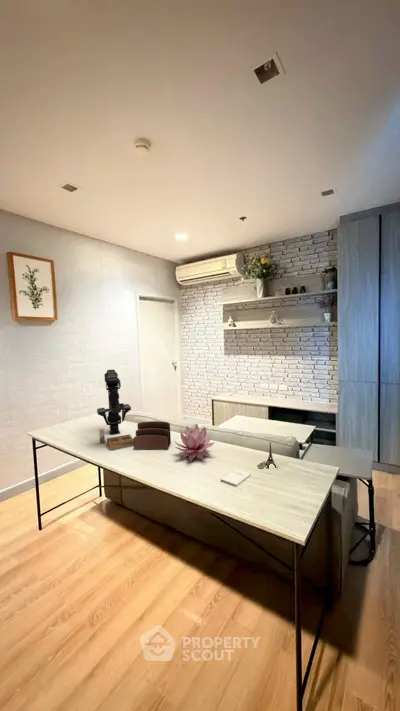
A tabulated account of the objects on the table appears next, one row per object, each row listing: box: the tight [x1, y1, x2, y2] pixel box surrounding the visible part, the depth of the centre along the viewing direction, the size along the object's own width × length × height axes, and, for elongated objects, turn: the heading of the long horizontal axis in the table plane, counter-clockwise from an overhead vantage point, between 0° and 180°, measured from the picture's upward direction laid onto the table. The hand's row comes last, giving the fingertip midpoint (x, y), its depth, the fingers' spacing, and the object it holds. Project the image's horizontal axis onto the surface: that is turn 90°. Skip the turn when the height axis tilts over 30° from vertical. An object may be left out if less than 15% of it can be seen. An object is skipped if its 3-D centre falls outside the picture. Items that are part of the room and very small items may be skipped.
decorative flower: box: [173, 424, 215, 462], centre depth 157 cm, size 21×21×15 cm
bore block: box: [106, 433, 134, 452], centre depth 178 cm, size 12×14×4 cm
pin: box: [98, 428, 106, 445], centre depth 183 cm, size 3×3×8 cm
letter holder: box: [132, 420, 172, 451], centre depth 173 cm, size 10×20×14 cm, turn 85°
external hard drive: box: [220, 468, 252, 488], centre depth 133 cm, size 2×8×12 cm
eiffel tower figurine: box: [256, 441, 278, 470], centre depth 143 cm, size 15×10×13 cm
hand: (115, 423), depth 177 cm, fingers open, 9 cm apart
